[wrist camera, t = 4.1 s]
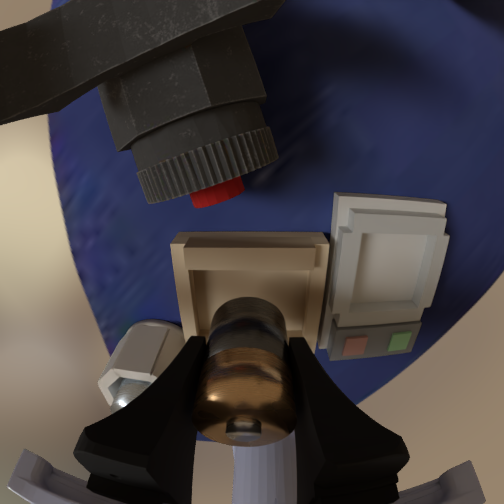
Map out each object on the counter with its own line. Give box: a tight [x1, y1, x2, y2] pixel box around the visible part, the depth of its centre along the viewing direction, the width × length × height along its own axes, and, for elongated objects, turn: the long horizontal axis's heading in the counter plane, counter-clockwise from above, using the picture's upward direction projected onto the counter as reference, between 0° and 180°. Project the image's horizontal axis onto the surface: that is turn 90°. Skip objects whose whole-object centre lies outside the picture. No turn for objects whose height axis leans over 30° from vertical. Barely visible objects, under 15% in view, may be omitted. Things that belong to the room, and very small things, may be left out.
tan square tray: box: [170, 232, 329, 353], centre depth 16 cm, size 7×8×2 cm
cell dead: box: [110, 378, 152, 414], centre depth 16 cm, size 4×4×6 cm
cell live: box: [192, 297, 297, 447], centre depth 11 cm, size 4×4×6 cm
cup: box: [98, 319, 185, 405], centre depth 17 cm, size 6×6×5 cm
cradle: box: [317, 192, 450, 361], centre depth 16 cm, size 10×7×2 cm
